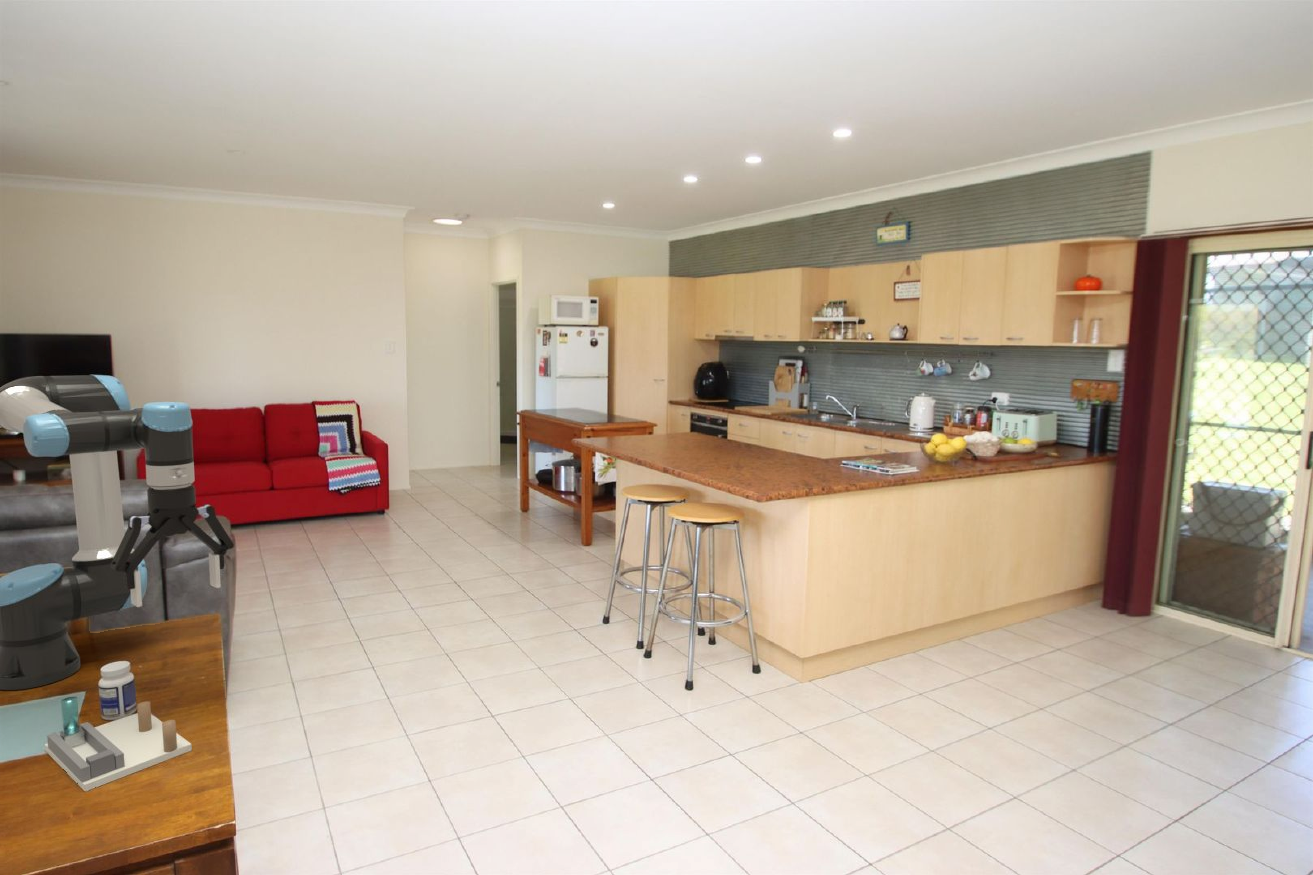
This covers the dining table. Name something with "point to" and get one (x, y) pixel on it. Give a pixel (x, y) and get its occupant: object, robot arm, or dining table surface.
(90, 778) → the board
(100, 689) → the pill bottle
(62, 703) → the pin
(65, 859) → the dining table surface
